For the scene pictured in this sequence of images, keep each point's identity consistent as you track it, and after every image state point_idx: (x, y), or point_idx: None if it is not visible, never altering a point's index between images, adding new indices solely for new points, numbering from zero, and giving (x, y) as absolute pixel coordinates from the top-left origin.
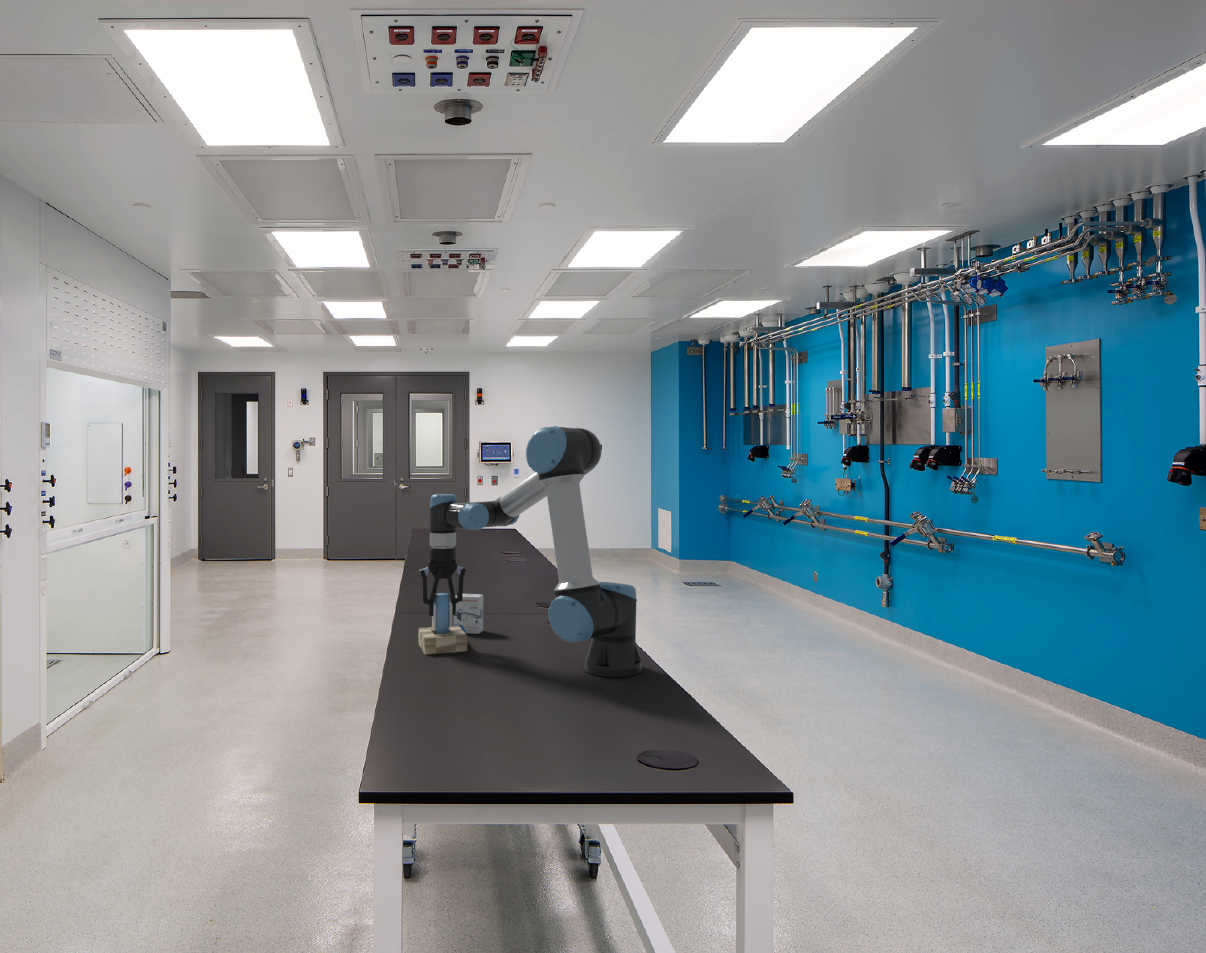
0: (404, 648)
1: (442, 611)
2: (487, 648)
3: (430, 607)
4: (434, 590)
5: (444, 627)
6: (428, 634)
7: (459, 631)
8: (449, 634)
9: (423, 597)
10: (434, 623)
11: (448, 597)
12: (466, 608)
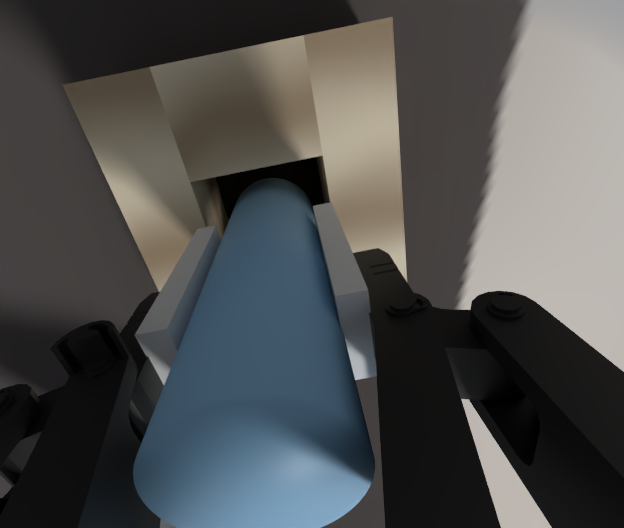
0: (456, 195)
1: (259, 254)
2: (7, 143)
3: (398, 291)
4: (438, 513)
5: (250, 204)
6: (359, 161)
7: (157, 228)
8: (212, 145)
9: (586, 345)
10: (328, 215)
11: (154, 413)
12: (160, 523)
